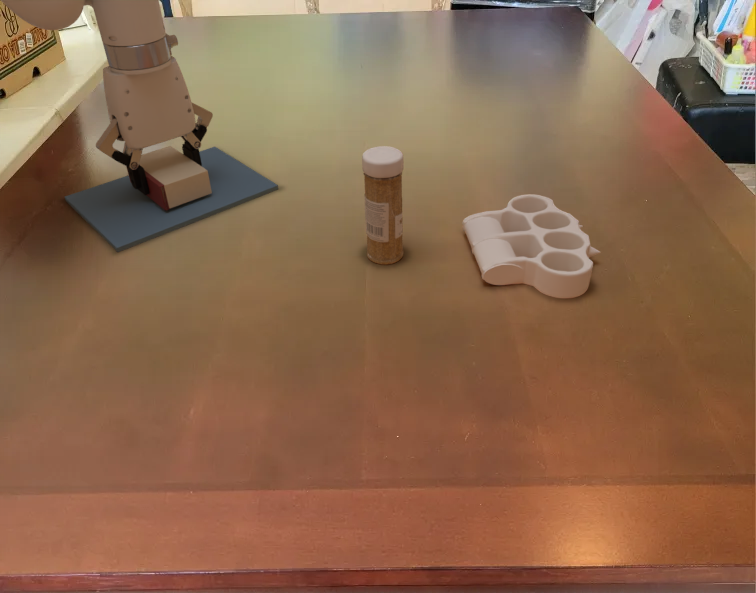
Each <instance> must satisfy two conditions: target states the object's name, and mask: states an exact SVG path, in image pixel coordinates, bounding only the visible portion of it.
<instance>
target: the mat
mask: <svg viewBox="0 0 756 593" xmlns="http://www.w3.org/2000/svg"><path fill="white" fill-rule="evenodd" d="M199 153H200V158H201V163H202V167H203V168H205V169H206V170H207V171H208V175H209V180H210V186H211V191H212V193H211V194H208V195H206V196H203V197H200V198H198V199H195V200H192V201H189V202H187V203H184V204H181V205H178V206H176V207H173V208H170V209H169V210H166V211H165V210H164V209H163V208H162V207H160V206H159V205H158V204H157V203H155V202H154V201H153V200H152V199H150V198H149V197H148V196H147V195H144V194H143V193H142V192H140V191H139V190H138V189H135V188H134V187H133V186H132V183H131V182H130V178H129V175H128V174H127V175H124V176H122V177H119V178H115V179H114V180H109V181H107V182H105V183H101V184H98V185H95V186H92V187H89V188H86V189H83V190H80V191H78V192H75V193H71V194H69V195H66V196H64V200H65V202H66V203H67V204H68V205H69V206H70V208H72V209H73V210H74V211H75V212H76V213H77V214H79V216H80V217H81V218H82V219H83V220H84V221H85V222H86V223H87V224H88V225H89V226H90V227H91V228H93V229H94V231H96V232H97V234H98V235H100V236H101V237H102V239H103V240H104V241H106V243H108V244H109V245H110V247H112V248H113V249H114V250H115V251H116V253H120V252H123V251H125V250H128V249H130V248H133V247H136V246H139V245H141V244H143V243H145V242H148V241H151V240H153V239H156V238H159V237H161V236H163V235H166V234H169V233H171V232H174V231H177V230H179V229H181V228H184V227H187V226H189V225H191V224H194V223H197V222H199V221H202V220H204V219H206V218H209V217H212V216H214V215H217V214H219V213H222V212H224V211H227V210H230V209H232V208H235V207H238V206H240V205H242V204H246V203H247V202H250V201H252V200H255V199H258V198H260V197H263V196H265V195H269V194H270V193H273V192H275V191H278V190H279V185H278V184H277V183H275V182H274V181H272V180H271V179H269V178H267V177H265V176H264V175H262V174H260V173H259V172H257V171H256V170H254V169H253V168H251V167H249V166H248V165H246V164H244V163H242V162H241V161H239V160H238V159H236V158H234V157H233V156H231V155H229V154H227V153H226V152H225V151H223V150H222V149H220V148H218V147H216V146H212V147H208V148H205V149H202V150H199Z"/></svg>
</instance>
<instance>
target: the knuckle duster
mask: <svg viewBox="0 0 756 593" xmlns="http://www.w3.org/2000/svg"><path fill="white" fill-rule="evenodd" d="M506 205H507V206H505V207H504V208H502V209H499V210H485V211H482V212H476V213H472V214H471V215H467V217H465V218H463V220H462V223H461V225H462V231H463V232H465V234H466V238H467V241H468V242H469V245H470V248H471V253H472V255H474V258H475V260H476V264H477V265H478V269H479V271H480V274H481V279H482V280H483V281H484V282H486V283H488V284H490V285H494V286H505V285H507V286H508V285H519V284H524V285H528V286H530V287H531V286H532V287H534V288H535V289H536V290H537V291H538V292H540V293H541V294H543V295H545V296H548V297H551V298H556V299H573V298H574V299H575V298H579V297H580V296H583V295H584V294H585V293H587V291H588V289H589V287H590V282H591V277H592V274H593V273H592V272H593V267H594V261H592V259H590V258H592V257H594V256H596V255H599V254H601V253H603V252H602V251H600V250H598V249H596V248H595V247H593V246H592V245H591V240H590V236H589V234H587V233H585V231H583V230H582V228H583V227H584V225H583V224H580V221H579V220H578V218H576V217H575V216H573V215H572V214H571V213H570V212H566V211H563V210H561V209H560V208H558V207H557V206H556V205H555V204H554V200H553V199H551V198H550V197H548V196H544V195H540V194H533V193H531V194H528V193H526V194H521V195H516V196H514V197H513V198H511V199H510V200H509V201H508V203H507V204H506Z"/></svg>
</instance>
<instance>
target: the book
mask: <svg viewBox="0 0 756 593" xmlns="http://www.w3.org/2000/svg"><path fill="white" fill-rule="evenodd" d="M139 164H140V166H142V167H143V168H144V171H145V174H146V179H147V183H148V187H149V191H150V193H149V194H148V195H147V196H148V197H149V198H150V199H152V200H153V201H154V202H155V203H157V204H158V205H159V206H160V207H162V208H163V209H164V210H165V211H166V210H169V209H170V208H173V207H176V206H178V205H181V204H184V203H187V202H189V201H192V200H195V199H198V198H200V197H203V196H206V195H208V194H211V193H212V191H211V186H210V180H209V175H208V171H207V170H206V169H205V168H203V167H202V166H200V165H199V164H197V163H196V162H194V161H193V160H191V159H190V158H188V157H187V156H185V155H184V154H183V152H181V151H179V150H177V149H176V148H175V147H173V146H172V145H169V146H168V145H167V146H165V147H162V148H159V149H156V150H152V151H148V152H146V153H142V154H141V158H140V162H139ZM125 167H126V171H127V176H128V175H129V173H128V169H127V166H125ZM129 178H130V176H129ZM130 182H131V180H130Z"/></svg>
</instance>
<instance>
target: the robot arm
mask: <svg viewBox="0 0 756 593" xmlns="http://www.w3.org/2000/svg"><path fill="white" fill-rule="evenodd" d="M0 2H1V3H3V4H4V5H5V7H7V8H8V10H10V11H11V12H12V13H13V14H14V15H16V17H19V18H20V20H23V21H24V22H26V23H28V24H29V25H30V26H33V27H36V28H38V29H41V30H45V31H60V30H64V29H67V28H69V27H70V26H72V25H73V24H75V23H76V22H77V21H78V20H79V18H80V17H81V15H82V13H83V11H84V7H85V6H90V7H91V8H92V9H93V12H94V16H95V20H96V24H97V27H98V31H99V34H100V38H101V42H102V45H103V49H104V53H105V57H106V61H107V64H108V66H104V67H103V69H102V80H103V89H104V97H105V102H106V108H107V113H108V114H107V115H108V119H109V124H108V126H107V127H106V129H105V130H104V131H103V133H102V134H101V135H100V136H99V138H98V140H97V141H96V143H95V147H96V149H97V150H99V151H100V152H101V153H102V154H104V155H106V156H108V157H109V158H111V159H113V160H114V161H115V162H117V163H119V164H121V165H123V166H124V167H126V166H127V167H126V170H127V169H128V171H127V174H128V173H129V176H130V180H131V183H132V186H133V187H134V188H135V189H138V190H139V191H140V192H142V193H143V194H144V195H148V194H149V193H150V191H149V187H148V183H147V179H146V174H145V171H144V168H143V167H142V166H140V164H139V162H140V158H141V155H143V149H146V148H149V147H152V146H155V145H158V144H162V143H164V142H165V143H166V142H169V141H172V140H175V139H177V138H181V140H182V141H184V143H182V146H181V150H182V154H184V155H185V156H187V157H188V158H190V159H191V160H193V161H194V162H196V163H197V164H199V165H200V166H202V163H201V158H200V153H199V152H200V149H201V147H202V141H203V139H204V137H205V135H206V134H207V131H208V127H209V125H210V123H211V121H212V119H213V117H214V115H213V112H212V111H210V110H208V109H206V108H204V107H202V106H200V105H198V104H196V103H194V102H192V99H191V95H190V92H189V89H188V86H187V83H186V80H185V77H184V75H183V72H182V70H181V67H180V66H179V65H180V64H179V63H178V60H177V58H176V57H175V56H173V53H172V49H173V48H174V47H177V46H178V45H179V40H178V37H177V35H175V34H168V33H166V28H165V22H164V19H163V14H162V10H161V5H160V0H0ZM196 116H197V120H196ZM116 140H117V141H120V142H124V144H123V149H122V151H120V150H119V149H116V148H115V147H114V143H115V141H116Z"/></svg>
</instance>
